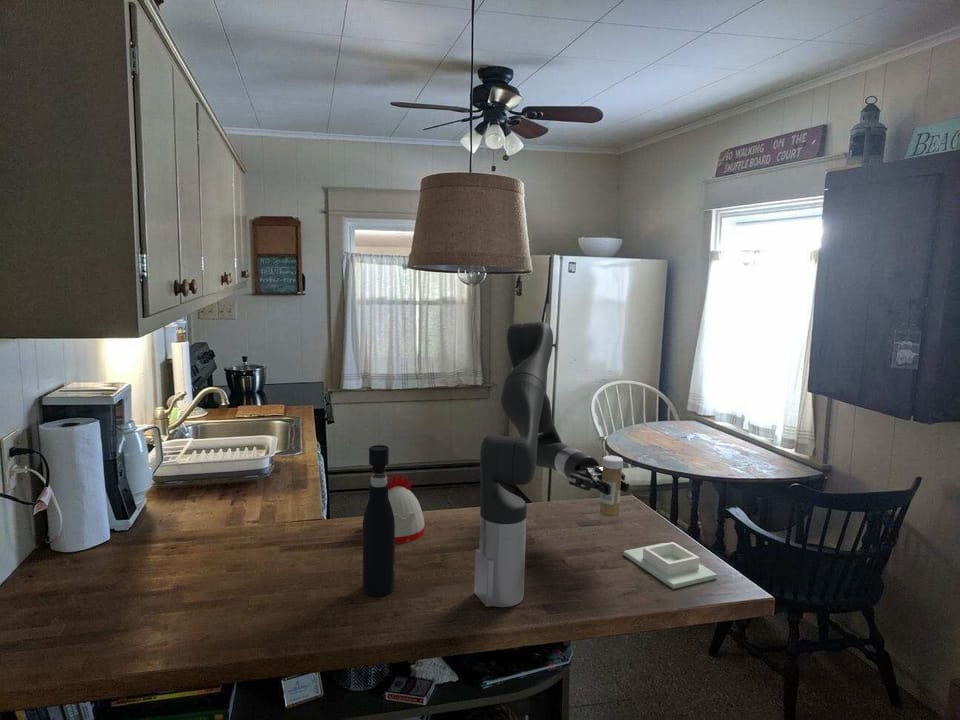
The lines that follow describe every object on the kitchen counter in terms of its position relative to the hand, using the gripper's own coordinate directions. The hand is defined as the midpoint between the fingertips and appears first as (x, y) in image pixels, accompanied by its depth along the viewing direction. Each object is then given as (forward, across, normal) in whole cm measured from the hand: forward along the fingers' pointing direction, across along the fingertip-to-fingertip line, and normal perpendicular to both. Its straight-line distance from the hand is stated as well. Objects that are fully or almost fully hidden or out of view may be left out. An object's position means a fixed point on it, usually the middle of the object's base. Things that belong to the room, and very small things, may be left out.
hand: (618, 489), depth 146 cm
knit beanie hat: (-35, -40, +18) cm, 56 cm away
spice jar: (-3, 0, +7) cm, 8 cm away
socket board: (+6, +11, +18) cm, 22 cm away
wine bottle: (-9, -52, +18) cm, 56 cm away
